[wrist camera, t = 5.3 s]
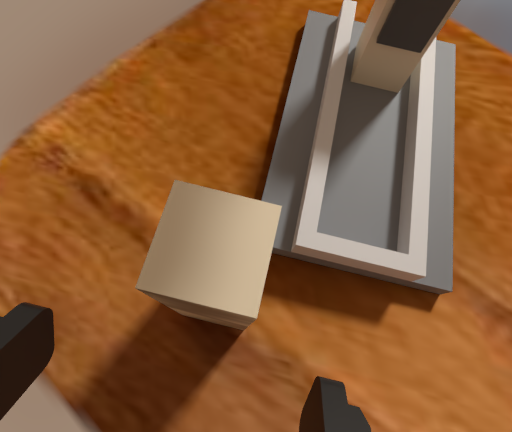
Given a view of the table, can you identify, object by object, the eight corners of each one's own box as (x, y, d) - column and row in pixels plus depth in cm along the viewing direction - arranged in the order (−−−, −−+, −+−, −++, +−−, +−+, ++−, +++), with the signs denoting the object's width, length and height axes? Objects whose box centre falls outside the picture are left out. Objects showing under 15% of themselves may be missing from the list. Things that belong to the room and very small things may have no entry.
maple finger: (259, 263, 20) (284, 195, 11) (243, 330, 19) (257, 318, 9) (202, 248, 20) (178, 169, 11) (182, 315, 19) (134, 287, 10)
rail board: (446, 56, 28) (577, -118, 17) (440, 294, 20) (660, 242, 10) (305, 23, 28) (351, -169, 17) (250, 247, 21) (270, 148, 10)
